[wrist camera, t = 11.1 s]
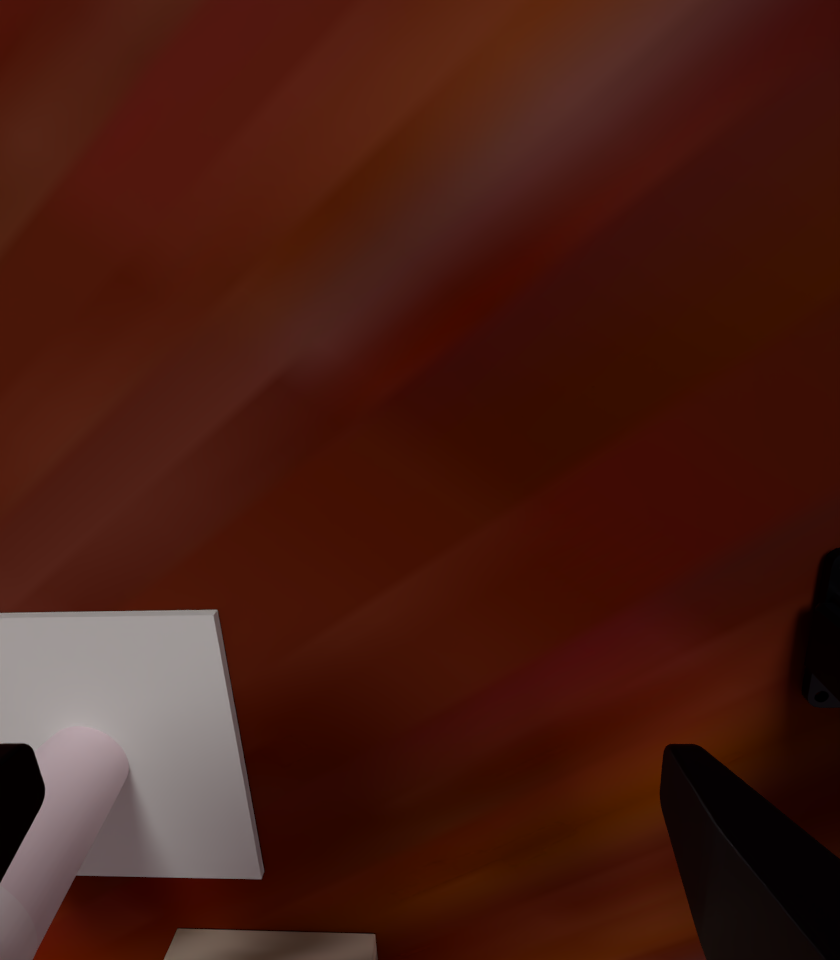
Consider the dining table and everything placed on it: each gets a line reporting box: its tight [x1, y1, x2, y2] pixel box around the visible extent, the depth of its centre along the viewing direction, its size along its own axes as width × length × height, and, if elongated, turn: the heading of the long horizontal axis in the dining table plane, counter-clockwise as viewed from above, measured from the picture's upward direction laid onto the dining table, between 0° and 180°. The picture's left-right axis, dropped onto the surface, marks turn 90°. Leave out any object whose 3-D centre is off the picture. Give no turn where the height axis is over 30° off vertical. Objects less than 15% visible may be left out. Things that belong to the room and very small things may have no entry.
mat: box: [0, 610, 264, 879], centre depth 25 cm, size 14×14×1 cm
